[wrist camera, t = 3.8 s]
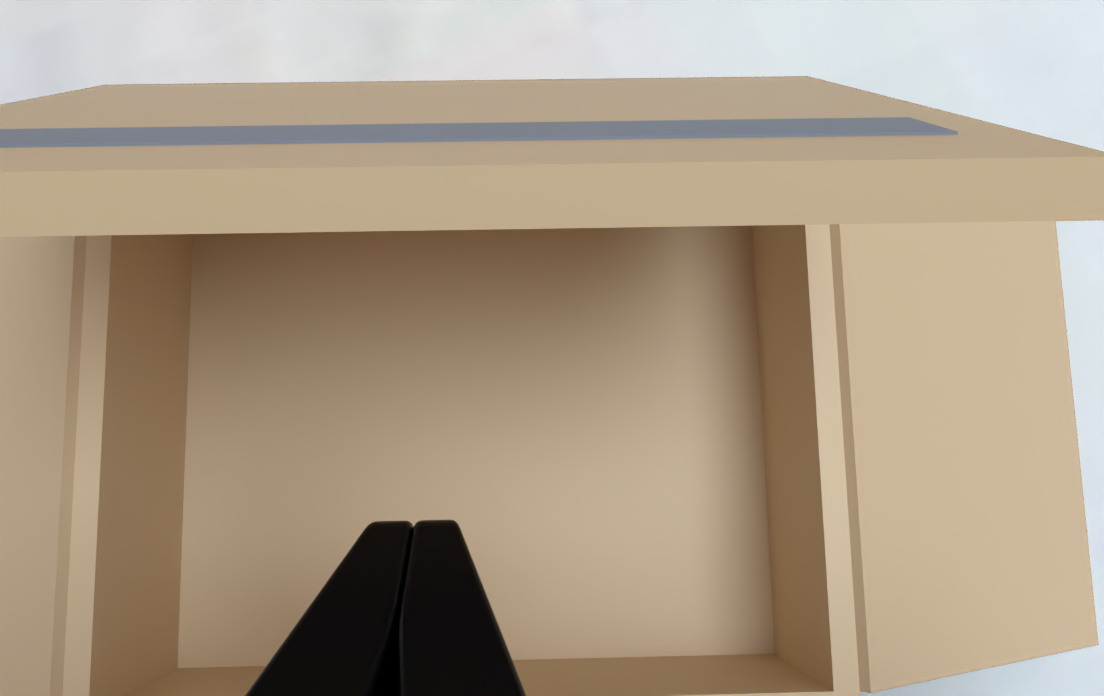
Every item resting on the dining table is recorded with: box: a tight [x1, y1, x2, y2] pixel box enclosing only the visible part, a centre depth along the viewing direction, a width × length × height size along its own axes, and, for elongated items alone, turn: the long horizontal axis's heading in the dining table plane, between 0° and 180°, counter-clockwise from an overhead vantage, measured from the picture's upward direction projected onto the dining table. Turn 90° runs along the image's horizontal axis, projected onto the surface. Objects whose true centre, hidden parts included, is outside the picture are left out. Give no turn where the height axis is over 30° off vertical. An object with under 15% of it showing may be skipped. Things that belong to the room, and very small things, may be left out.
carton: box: [0, 221, 1098, 696], centre depth 17 cm, size 16×24×4 cm
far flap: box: [0, 76, 1104, 237], centre depth 12 cm, size 1×11×9 cm
